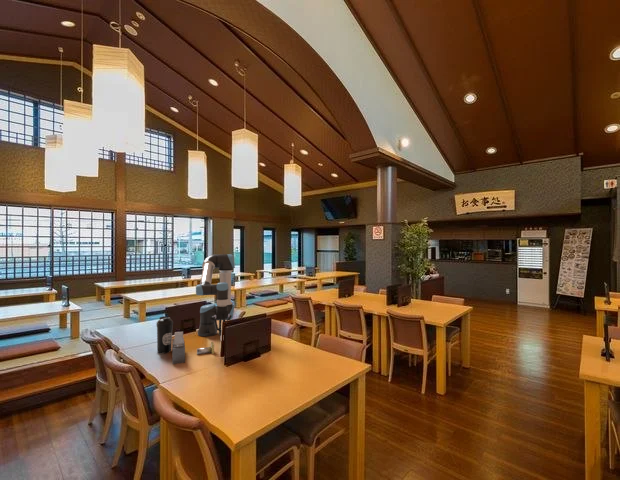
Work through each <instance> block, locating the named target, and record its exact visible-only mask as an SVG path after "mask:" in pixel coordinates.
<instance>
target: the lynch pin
mask: <svg viewBox="0 0 620 480" xmlns="http://www.w3.org/2000/svg"><path fill="white" fill-rule="evenodd" d="M209 353H210V354H211V355H214V354H215V344H214V341H210V346H208V347H200V348H196V355H204V354H209Z"/></svg>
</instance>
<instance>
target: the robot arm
mask: <svg viewBox="0 0 620 480" xmlns="http://www.w3.org/2000/svg"><path fill="white" fill-rule="evenodd" d="M201 268H202V271H201V272H202V273H201V277H200V283H199V284H197V285H196V286H195V294H196V296H216V304H215V303H211V304H205V305H202V306H200V310H199V316H200V317H199V318H200V319H199V327H198V331H197V335H198V337H212V336H215V335H217V334H218V335H219V336H220V341H221V342H223V341H222V330H223V329H222V323H223V322H225V323H226V322H227V321H228V320H230V321H231V320H233V318H234V312H235V304H233V303H234V302H232V272H233V271H234V269H235V268H236V265H235V258H234V254H232V253H229V254H228V253H223V254H222V253H220V254H219V253H218V254H217V253H216V254H215V253H214V254H211V255H209V256H208V257H205V259H204V260H203V262H202V267H201ZM214 269H218V271H219V275H220V276H219V277H220V278H219V279H220V280H219V281H220V282H217V283H216V284H215V283H214V284H213V283H212V282H213V281H212V280H213V273H214Z"/></svg>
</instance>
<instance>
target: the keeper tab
mask: <svg viewBox="0 0 620 480" xmlns="http://www.w3.org/2000/svg"><path fill="white" fill-rule="evenodd" d="M183 338H184V331H175V332H174V339H175V343H174V346H178V345H183Z"/></svg>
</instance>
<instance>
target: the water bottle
mask: <svg viewBox="0 0 620 480" xmlns="http://www.w3.org/2000/svg"><path fill="white" fill-rule="evenodd" d="M173 325H174V321H173V320H172V319H171V317H169V316H168V317H167V316H166V315H165V316H160V317H159V319H158V320H157V322H156V339H157V346H156V347H157V353H158V354H160V353H164V354H167V353H168V354H169V353H172V339H173Z"/></svg>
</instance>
